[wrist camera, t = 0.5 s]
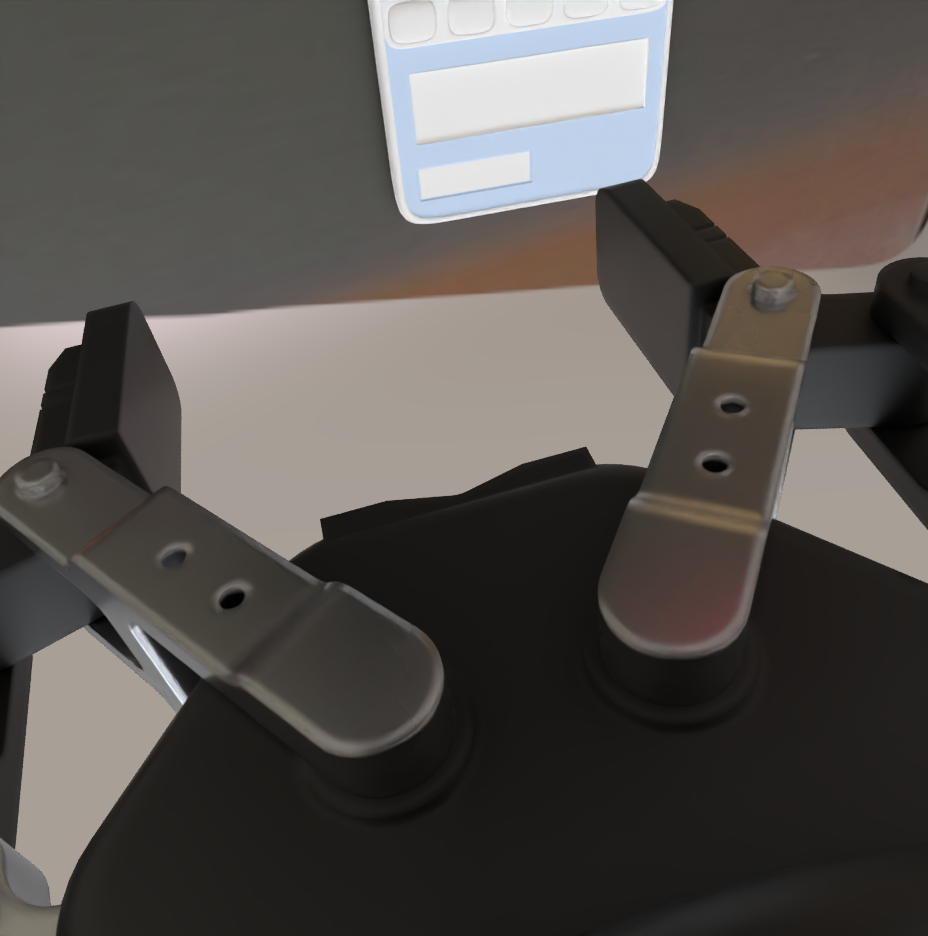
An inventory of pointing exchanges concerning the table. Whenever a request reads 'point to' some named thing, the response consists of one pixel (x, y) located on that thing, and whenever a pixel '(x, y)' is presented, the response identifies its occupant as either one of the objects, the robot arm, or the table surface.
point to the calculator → (518, 99)
